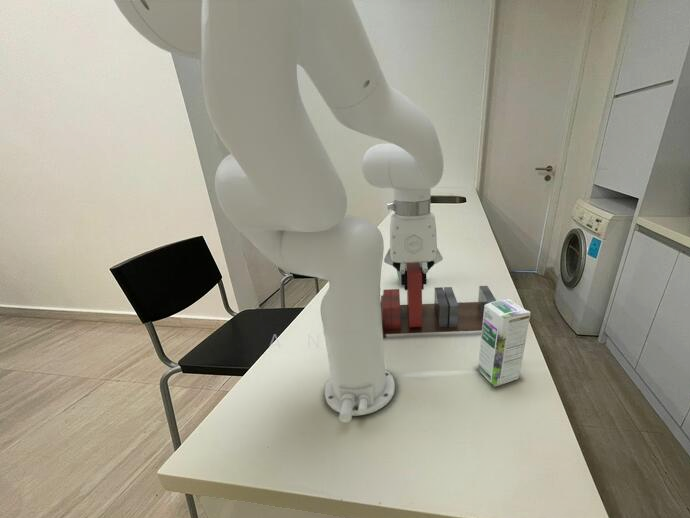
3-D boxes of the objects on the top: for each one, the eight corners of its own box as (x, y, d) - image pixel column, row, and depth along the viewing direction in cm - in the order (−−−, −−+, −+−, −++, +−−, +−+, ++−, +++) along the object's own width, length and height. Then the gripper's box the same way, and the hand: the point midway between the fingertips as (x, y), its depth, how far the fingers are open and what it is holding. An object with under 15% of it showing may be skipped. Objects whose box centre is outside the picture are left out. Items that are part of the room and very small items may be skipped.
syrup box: (476, 369, 64) (482, 303, 58) (501, 361, 66) (510, 297, 60) (494, 388, 60) (503, 318, 53) (520, 379, 62) (532, 310, 55)
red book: (422, 327, 76) (421, 275, 70) (409, 327, 76) (407, 275, 70) (418, 304, 86) (418, 257, 80) (407, 305, 86) (406, 257, 80)
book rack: (502, 333, 75) (505, 307, 72) (380, 338, 75) (378, 312, 72) (487, 304, 88) (489, 282, 85) (382, 308, 88) (380, 286, 85)
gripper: (372, 213, 66) (378, 295, 74) (454, 210, 66) (451, 293, 74) (374, 205, 72) (379, 282, 81) (448, 202, 72) (446, 279, 81)
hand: (413, 286), depth 77 cm, fingers closed on red book, 3 cm apart
